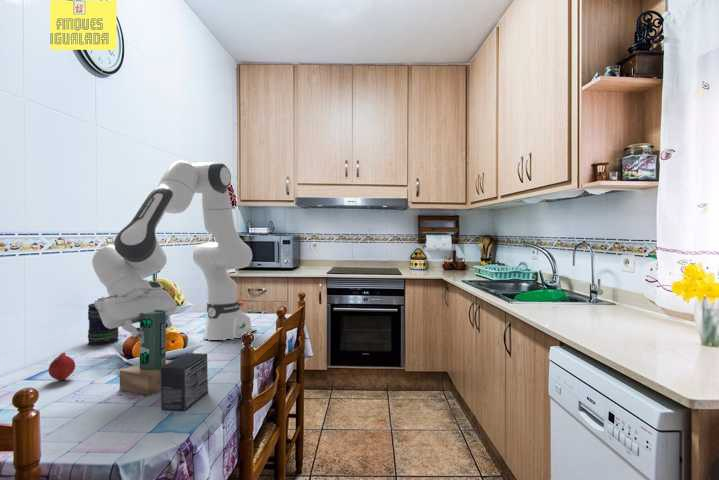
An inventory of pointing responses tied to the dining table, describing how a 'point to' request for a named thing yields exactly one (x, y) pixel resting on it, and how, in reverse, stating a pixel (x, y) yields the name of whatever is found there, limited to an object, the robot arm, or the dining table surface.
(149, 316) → the can
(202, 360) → the small box
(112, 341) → the storage jar
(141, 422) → the dining table surface
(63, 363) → the onion
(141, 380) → the brown cardboard box
